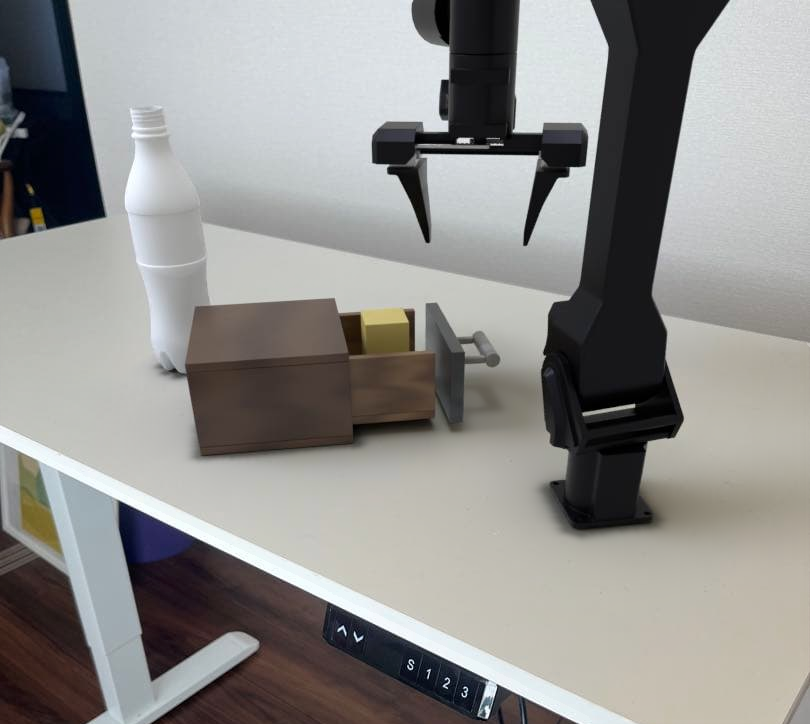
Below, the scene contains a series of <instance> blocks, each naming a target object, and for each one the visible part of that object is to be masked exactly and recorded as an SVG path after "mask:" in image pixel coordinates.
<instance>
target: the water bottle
mask: <svg viewBox="0 0 810 724" xmlns="http://www.w3.org/2000/svg"><path fill="white" fill-rule="evenodd" d="M129 113H130V119H131V123H132V126H131V130H132V133H131V138H132V139H134V143H135V144H134V146H135V147H134V149H135V151H134V158H133V162H132V166H131V168H130V171H129V175H128V179H127V183H126V186H125V191H124V209H125V211H126V212H127V218H128V223H129V228H130V234H131V238H132V239H131V240H132V243H133V249H134V253H135V260H136V264H137V266H138V268H139V271H140V274H141V276H142V279H143V283H144V286H145V291H146V294H147V295H146V296H147V299H148V305H149V313H150V315H149V316H150V342H151V346H152V350H153V352H154V355H155V357H156V359H157V360H158V362H159V364H160V365H161V366H162V367H163V368H164V369H165V370H167V371H172V370H173V369H176V371H177V372H179V373H180V374H183V375H186V369H185V360H186V354H187V349H188V343H189V338H190V332H191V327H192V321H193V316H194V310H195V307H196V306H211V305H212V304H211V300H210V295H209V287H208V275H207V262H208V253H207V248H206V241H205V233H204V228H203V227H204V226H203V220H202V213H201V207H200V206H201V200H200V195H199V193H198V190H197V188H196V187H195V184H194V183H193V182H192V179H191V178H190V176H189V175H188V173H187V171H186V169H184V167H183V165H182V163H180V161H179V159H178V158H177V156H176V155H175V153H174V151H173V148H172V145H171V142H170V138H169V137H171V132H170V131H169V130H168V128H169V126H168V125H167V124H166V119H165V118H166V116H165V111H164V106H161V105H144V106H134V107H130V108H129Z"/></svg>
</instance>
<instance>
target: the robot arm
mask: <svg viewBox="0 0 810 724" xmlns="http://www.w3.org/2000/svg"><path fill="white" fill-rule="evenodd" d="M589 1H590V3H591V6H592V9H593V12H594V14H595V16H596V19H597V21H598V24H599V26H600V30H601V31H602V34H603V36H604V39H605V42H606V44H607V48H608V49H607V62H606V68H605V70H606V71H605V77H604V85H603V94H602V100H601V101H602V103H601V110H600V119H599V126H598V134H597V141H596V142H597V143H596V150H595V158H594V159H595V160H594V165H593V166H594V168H593V173H592V174H593V175H592V181H591V191H590V199H589V206H588V214H587V215H588V216H587V223H586V230H585V237H584V238H585V240H584V247H583V254H582V264H581V271H580V277H579V278H580V279H579V284H578V287H577V288H576V290H575V291H574V293H572V295H571V296H570V297H569V299H568V300H560V301H553V303H552V304H551V307H550V309H549V311H548V313H547V333H546V340H545V345H544V348H543V350H542V355H543V356H544V359H543V361H542V365H541V369H540V380H541V391H542V392H541V393H542V405H543V417H544V418H543V419H544V423H545V430H546V432H548V434H549V444H550V445H551V446H552V447H554V448H559V449H562V450H567V451H568V453H567V463H566V471H565V477H564V478H565V479H558V480H551V481H549V490H550V492H551V493H552V495H553V497H554V499H555V501H556V502H557V504H558V506H559V508H560V509H561V511H562V512H563V515H564V516H565V517H566V519H567V521H568V523H569V524H570V526H571V527H572V528H575V529H585V528H586V529H587V528H596V527H606V526H607V527H609V526H615V525H616V526H617V525H627V524H637V523H647V522H652V521H653V520H654V516H655V515H654V512H653V510H652V509H651V508H650V506H649V505H648V503H647V502H646V501H645V500H644V498H642V495H640V491H641V490H640V489H641V485H642V479H643V472H644V468H645V462H646V461H645V460H646V455H647V451H648V445H649V442H654V441H659V440H663V439H667V440H671V439H675V438H676V437H677V435H678V433H679V431H680V429H681V427H682V425H683V423H684V421H685V414H684V413H683V409H682V406H681V403H680V400H679V396H678V393H677V390H676V387H675V384H674V381H673V378H672V375H671V372H670V368H669V365H668V361H667V358H666V357H667V356H666V355H667V343H668V329H667V327H666V326H667V325H666V323H665V322H664V319H663V317H662V315H661V313H660V310H659V308H658V306H657V303H656V301H655V299H654V296H653V292H654V291H653V289H654V282H655V278H656V277H655V276H656V272H657V266H658V260H659V255H660V248H661V244H662V243H661V242H662V238H663V232H664V225H665V222H666V215H667V210H668V205H669V198H670V193H671V188H672V181H673V176H674V171H675V170H674V169H675V165H676V159H677V154H678V148H679V143H680V136H681V131H682V125H683V120H684V113H685V108H686V103H687V97H688V91H689V87H690V81H691V80H690V79H691V75H692V69H693V63H694V58H695V55H696V51H697V49H698V48H699V46H700V45H701V43H702V42H703V40H704V39H705V37H706V36H707V35H708V33H709V32H710V30H711V28H712V27H713V26H714V24H715V23H716V21H718V19H719V17H720V16H721V15H722V13H723V12H724V10H725V8H726V7H727V6H728V5H729V3H730V1H731V0H589ZM520 9H521V0H412V2H411V10H410V11H411V19H412V23H413V25H414V29H415V30H416V32H417V33H418V35H419V36H420V37H421V38H422V39H423V40H424V41H426V42H427V43H429V44H431V45H436V46H440V47H445V48H449V49H448V52H449V53H448V78H447V79H446V78H445V79H441V80H440V88H439V98H438V115H439V117H440V120H442V121H446V122H447V131H425V129H424V128H425V127H424V122H423V121H389V120H388V121H385V122H384V123H383V124H382V125H381V126H379V127H378V128H377V129H376V130H375V132H374V133H373V134H371V135H372V136H371V164H374V165H383V166H384V165H385V166H386V165H387V167H386V174H387V175H389V176H395V177H397V178H398V180H399V182H400V184H401V186H402V188H403V190H404V192H405V194H406V196H407V198H408V200H409V202H410V204H411V207H412V209H413V211H414V214H415V218H416V220H417V223H418V225H419V228H420V231H421V234H422V236H423V239H424V243H425V244H431V242H432V215H431V205H430V204H431V203H430V195H429V185H428V157H423V155H450V156H451V155H455V156H458V155H459V156H460V155H462V156H525V157H526V156H531V157H532V156H533V157H537V156H538V158H537V161H536V166H535V171H534V177H533V182H532V187H531V192H530V197H529V202H528V207H527V213H526V217H525V222H524V229H523V238H522V239H523V240H522V247H527V246H528V245H529V242H530V240H531V237H532V234H533V232H534V229H535V227H536V224H537V222H538V219H539V217H540V214H541V211H542V209H543V207H544V204H545V203H546V201H547V200H548V197H549V195H550V193H551V192H552V190H553V188H554V186H555V184H556V182H557V180H558V179H566V178H567V179H568V178H569V177H570V175H571V174H570V173H571V168H584V167H586V166H587V160H588V159H587V157H588V148H589V131H588V129H587V128H586V127H585V125H584V124H583V123H582V122H543V123H542V124H543V125H542V132H517V131H514V130H516V129H515V128H516V119H517V118H516V117H517V116H516V115H517V95H516V84H517V83H516V80H517V65H518V46H519V29H520V28H519V25H520V12H521V11H520ZM459 139H469V143H468V142H465V143H464V142H461V143H460V142H458V140H459ZM631 405H634V406H633V407H628V408H623V409H616V410H612V411H606V412H600V413H593V414H589V415H583V414H585V413H590V412H596V411H602V410H607V409H613V408H621V407H625V406H631Z"/></svg>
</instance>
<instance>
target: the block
mask: <svg viewBox="0 0 810 724" xmlns="http://www.w3.org/2000/svg"><path fill="white" fill-rule="evenodd" d="M403 309H404V308H403V307H394V308H379V309H377V308H376V309H362V310H360V312H361V332H362V355H369V354H383V353H397V352H409V321H408V319H407V317H406V315H405V312H404V310H403Z"/></svg>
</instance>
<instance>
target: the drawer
mask: <svg viewBox="0 0 810 724" xmlns="http://www.w3.org/2000/svg"><path fill="white" fill-rule="evenodd" d="M403 310H404V312H405V315H406V317H407V319H408V321H409V352H397V353H383V354H369V355H362V332H361V311H350V312H338V313H339V317H340V321H341V325H342V329H343V333H344V337H345V341H346V344H347V348H348V352H349V368H350V386H351V405H352V423H353V425H363V424H377V423H386V422H387V423H389V422H401V421H403V422H404V421H415V420H427V419H435V417H436V394H437V396H438V399H439V401H440V403H441V405H442V408H443V410H444V412H445V414H446V417H447V419H448V421H449V423H450V424H459V423H463V422H464V405H465V404H464V403H465V402H464V401H465V400H464V399H465V371H466V369H465V368H466V365H476V364H477V365H478V364H485V365H486V366H487V367H489V368H496V367H497V366H499V364H500V363H501V357H500V355H499V353H498V352H497V350H496V349H495V347H494V346H493V344H492V343H491V341H490V340H489V338H488V336H487V335H486V334H485V332H484V331H482V330H477V331H475V332H474V333H472V335H470V336H469V335H468V336H457V335H456V334H455V332H454V330H453V327H452V326H451V325H450V323H449V321H448V319H447V318H446V316H445V314H444V312H443V311H442V308H441V307H440V304H439V303H438V302H427V303H425V335H424V336H425V343H424V344H425V347H424V349H425V350H416V310H415V309H414V308H403ZM470 344H471V345H472V344H473V345H474V347H475V348H476V350H477V352H478V353H479V355H467V356H466V351H465V349H464V348H463V345H470Z"/></svg>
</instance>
